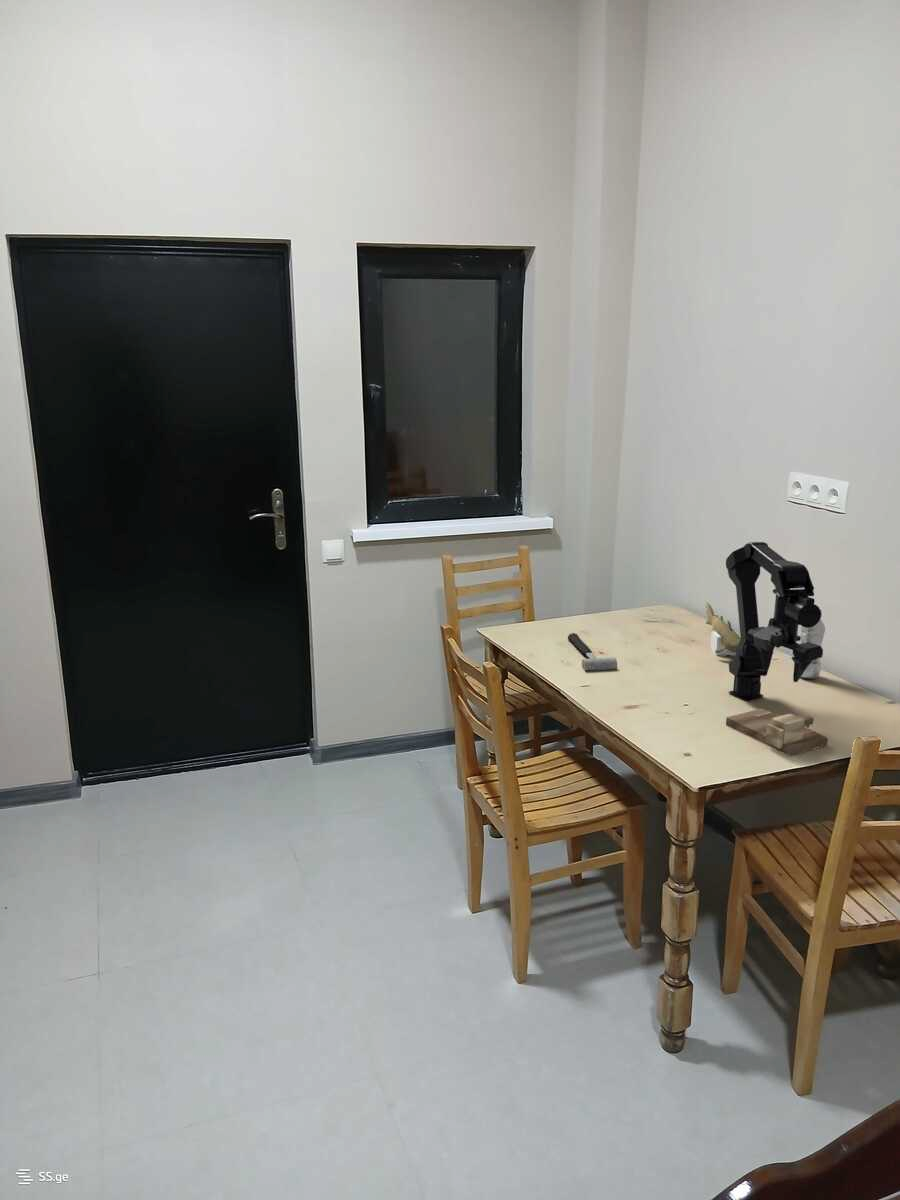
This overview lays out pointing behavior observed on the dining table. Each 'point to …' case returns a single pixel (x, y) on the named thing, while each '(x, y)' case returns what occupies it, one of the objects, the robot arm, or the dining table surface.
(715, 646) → the wood carving
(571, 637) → the rubber mallet
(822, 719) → the dining table surface
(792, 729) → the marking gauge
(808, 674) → the plastic bottle
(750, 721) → the walnut board
